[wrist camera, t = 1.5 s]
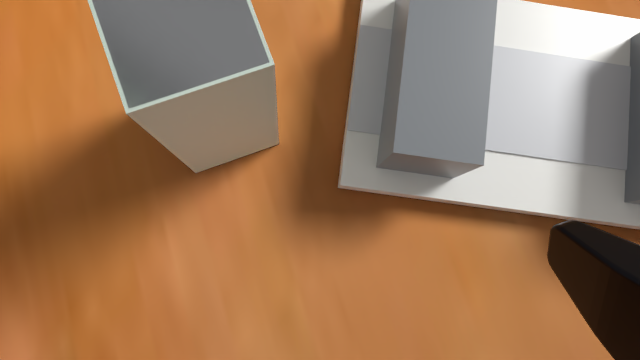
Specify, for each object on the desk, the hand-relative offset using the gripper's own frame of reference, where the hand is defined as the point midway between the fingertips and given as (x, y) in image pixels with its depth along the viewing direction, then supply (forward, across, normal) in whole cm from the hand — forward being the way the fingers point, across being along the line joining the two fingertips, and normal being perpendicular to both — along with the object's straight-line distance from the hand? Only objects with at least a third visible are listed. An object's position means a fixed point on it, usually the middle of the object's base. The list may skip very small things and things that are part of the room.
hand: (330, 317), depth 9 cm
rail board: (+12, -13, +6) cm, 19 cm away
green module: (+15, +1, +3) cm, 16 cm away
